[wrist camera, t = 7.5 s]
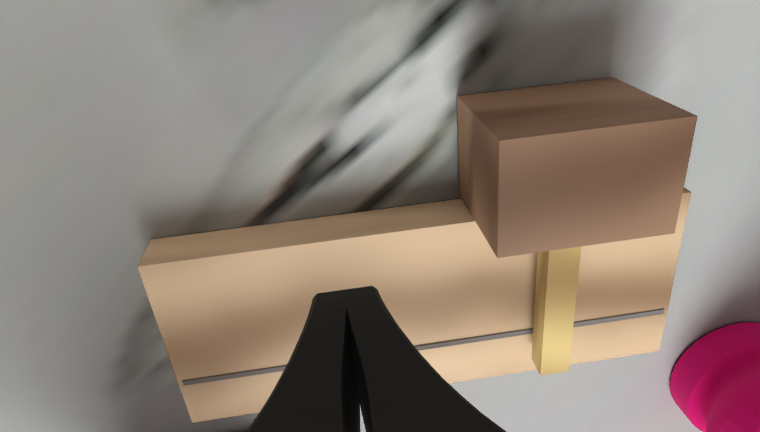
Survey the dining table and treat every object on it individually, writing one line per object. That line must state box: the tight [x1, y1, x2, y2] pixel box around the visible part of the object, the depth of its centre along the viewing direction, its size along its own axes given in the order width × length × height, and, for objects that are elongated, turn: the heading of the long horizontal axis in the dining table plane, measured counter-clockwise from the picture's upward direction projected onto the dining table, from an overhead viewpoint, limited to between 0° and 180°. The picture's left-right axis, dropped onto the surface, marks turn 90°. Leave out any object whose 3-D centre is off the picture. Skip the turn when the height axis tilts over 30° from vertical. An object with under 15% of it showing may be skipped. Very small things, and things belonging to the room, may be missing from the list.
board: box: [137, 188, 691, 423], centre depth 23 cm, size 8×21×2 cm, turn 95°
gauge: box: [457, 78, 697, 375], centre depth 21 cm, size 11×6×5 cm, turn 5°
